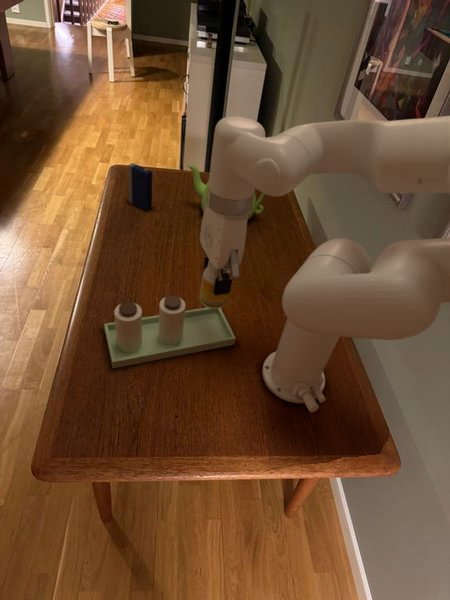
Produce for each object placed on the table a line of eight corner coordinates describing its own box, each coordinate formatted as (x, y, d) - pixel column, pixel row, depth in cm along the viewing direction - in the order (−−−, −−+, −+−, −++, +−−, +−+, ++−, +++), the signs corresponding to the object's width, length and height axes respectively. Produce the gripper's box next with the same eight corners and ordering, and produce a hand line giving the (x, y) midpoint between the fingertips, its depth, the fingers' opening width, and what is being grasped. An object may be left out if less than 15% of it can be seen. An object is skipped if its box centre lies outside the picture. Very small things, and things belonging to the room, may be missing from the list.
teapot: (267, 222, 124) (278, 178, 114) (213, 235, 114) (219, 189, 105) (234, 194, 135) (241, 152, 125) (181, 203, 125) (185, 159, 116)
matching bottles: (185, 342, 83) (189, 307, 76) (118, 355, 78) (116, 319, 71) (178, 325, 86) (181, 290, 79) (114, 336, 81) (111, 300, 75)
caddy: (218, 311, 92) (219, 305, 90) (234, 344, 85) (235, 338, 83) (104, 330, 83) (103, 323, 81) (112, 368, 76) (112, 362, 75)
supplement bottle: (199, 291, 82) (203, 253, 76) (224, 292, 83) (231, 255, 77) (200, 309, 78) (205, 271, 72) (227, 310, 79) (234, 272, 73)
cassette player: (152, 208, 121) (152, 170, 113) (146, 211, 119) (147, 173, 111) (133, 199, 123) (133, 161, 115) (128, 201, 122) (127, 164, 114)
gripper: (192, 175, 70) (184, 258, 82) (226, 229, 59) (212, 316, 71) (231, 174, 73) (218, 255, 85) (272, 225, 61) (250, 310, 73)
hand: (216, 282), depth 78 cm, fingers closed on supplement bottle, 5 cm apart
